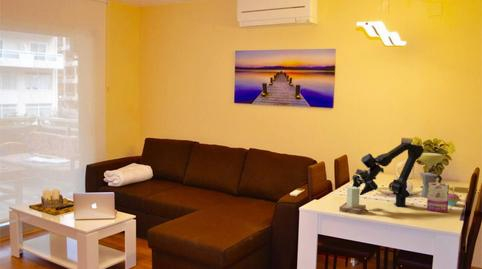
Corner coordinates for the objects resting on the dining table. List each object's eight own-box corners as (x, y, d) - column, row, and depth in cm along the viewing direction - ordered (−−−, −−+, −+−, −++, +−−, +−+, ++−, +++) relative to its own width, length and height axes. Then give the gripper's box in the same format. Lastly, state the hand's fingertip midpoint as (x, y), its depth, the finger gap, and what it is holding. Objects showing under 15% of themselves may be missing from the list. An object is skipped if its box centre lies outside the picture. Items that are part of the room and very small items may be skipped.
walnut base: (339, 211, 258) (339, 207, 257) (345, 206, 268) (345, 202, 268) (359, 214, 252) (360, 210, 251) (365, 209, 262) (365, 205, 261)
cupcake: (462, 206, 270) (463, 187, 269) (449, 206, 269) (450, 187, 267) (453, 202, 278) (454, 183, 277) (440, 203, 277) (441, 184, 276)
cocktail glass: (447, 188, 317) (449, 154, 314) (432, 191, 306) (434, 156, 304) (424, 184, 331) (426, 150, 329) (409, 187, 321) (411, 152, 319)
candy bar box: (447, 210, 261) (448, 183, 259) (447, 212, 256) (449, 184, 254) (426, 208, 265) (427, 181, 263) (426, 210, 260) (428, 183, 258)
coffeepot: (415, 195, 296) (416, 168, 294) (423, 193, 302) (425, 167, 300) (436, 200, 284) (437, 172, 282) (444, 198, 289) (446, 171, 287)
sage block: (346, 205, 261) (347, 187, 260) (354, 204, 263) (354, 186, 261) (351, 207, 256) (352, 189, 255) (358, 206, 258) (359, 188, 257)
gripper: (355, 161, 268) (338, 180, 265) (374, 166, 250) (356, 187, 248) (365, 173, 271) (349, 192, 269) (385, 179, 254) (368, 200, 251)
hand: (355, 193), depth 259 cm, fingers open, 9 cm apart
